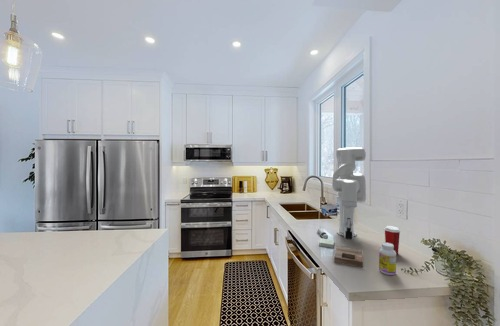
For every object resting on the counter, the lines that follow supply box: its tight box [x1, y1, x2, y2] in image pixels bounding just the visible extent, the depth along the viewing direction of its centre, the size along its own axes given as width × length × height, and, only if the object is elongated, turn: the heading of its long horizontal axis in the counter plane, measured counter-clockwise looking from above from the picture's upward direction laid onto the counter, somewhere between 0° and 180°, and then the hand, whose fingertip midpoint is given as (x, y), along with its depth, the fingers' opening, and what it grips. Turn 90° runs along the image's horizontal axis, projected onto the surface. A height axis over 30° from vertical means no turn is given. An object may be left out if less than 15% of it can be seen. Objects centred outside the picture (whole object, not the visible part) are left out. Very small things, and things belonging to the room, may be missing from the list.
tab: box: [318, 237, 335, 249], centre depth 135 cm, size 8×8×2 cm
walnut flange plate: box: [333, 245, 364, 268], centre depth 116 cm, size 16×13×3 cm
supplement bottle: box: [378, 242, 397, 276], centre depth 102 cm, size 7×7×13 cm
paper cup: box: [383, 225, 401, 256], centre depth 123 cm, size 8×8×14 cm
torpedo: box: [316, 227, 329, 239], centre depth 152 cm, size 18×5×7 cm, turn 178°
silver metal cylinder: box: [344, 227, 354, 240], centre depth 119 cm, size 4×4×5 cm
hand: (348, 237), depth 119 cm, fingers closed on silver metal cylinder, 4 cm apart
